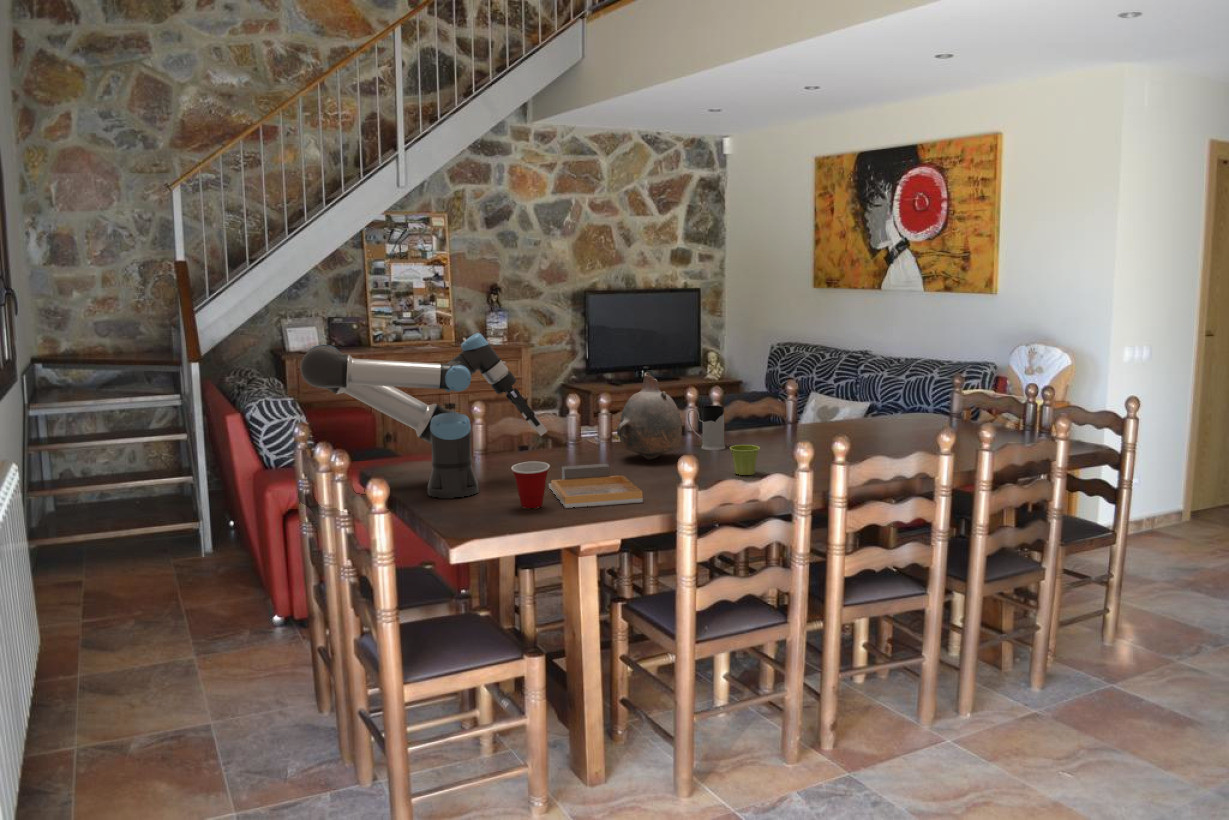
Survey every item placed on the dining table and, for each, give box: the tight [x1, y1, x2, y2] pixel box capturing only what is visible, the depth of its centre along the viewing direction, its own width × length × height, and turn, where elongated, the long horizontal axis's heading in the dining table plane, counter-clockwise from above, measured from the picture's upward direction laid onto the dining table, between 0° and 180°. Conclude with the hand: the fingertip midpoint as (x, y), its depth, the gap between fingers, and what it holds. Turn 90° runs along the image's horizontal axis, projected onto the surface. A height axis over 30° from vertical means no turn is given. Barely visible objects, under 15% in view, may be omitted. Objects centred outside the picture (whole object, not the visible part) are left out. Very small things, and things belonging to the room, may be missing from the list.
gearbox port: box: [548, 463, 644, 509], centre depth 297 cm, size 22×27×6 cm
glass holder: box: [687, 405, 726, 451], centre depth 366 cm, size 9×14×15 cm, turn 65°
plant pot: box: [729, 444, 761, 476], centre depth 321 cm, size 9×9×9 cm
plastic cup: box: [511, 461, 550, 508], centre depth 283 cm, size 11×11×12 cm
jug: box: [616, 372, 683, 460], centre depth 345 cm, size 24×21×30 cm
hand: (540, 430), depth 319 cm, fingers open, 13 cm apart
